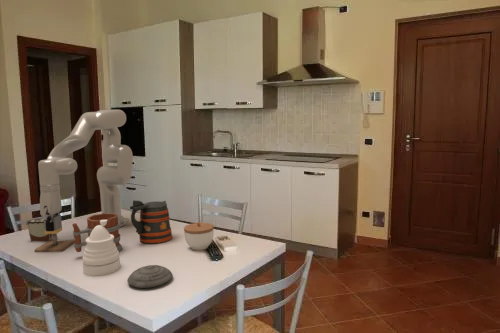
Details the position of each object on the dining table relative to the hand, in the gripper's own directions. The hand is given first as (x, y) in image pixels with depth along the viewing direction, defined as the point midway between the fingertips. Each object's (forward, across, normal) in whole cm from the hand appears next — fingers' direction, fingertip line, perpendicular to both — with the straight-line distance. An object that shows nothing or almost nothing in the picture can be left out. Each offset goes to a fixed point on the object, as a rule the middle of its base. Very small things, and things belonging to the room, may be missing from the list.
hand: (53, 228), depth 167 cm
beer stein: (+8, -6, +41) cm, 42 cm away
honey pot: (+9, +26, +30) cm, 41 cm away
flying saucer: (+9, +38, +51) cm, 64 cm away
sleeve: (+2, 0, 0) cm, 2 cm away
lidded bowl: (+8, +5, +64) cm, 65 cm away
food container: (+9, -12, -11) cm, 18 cm away
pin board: (+8, 0, 0) cm, 8 cm away
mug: (+9, +8, +22) cm, 25 cm away
